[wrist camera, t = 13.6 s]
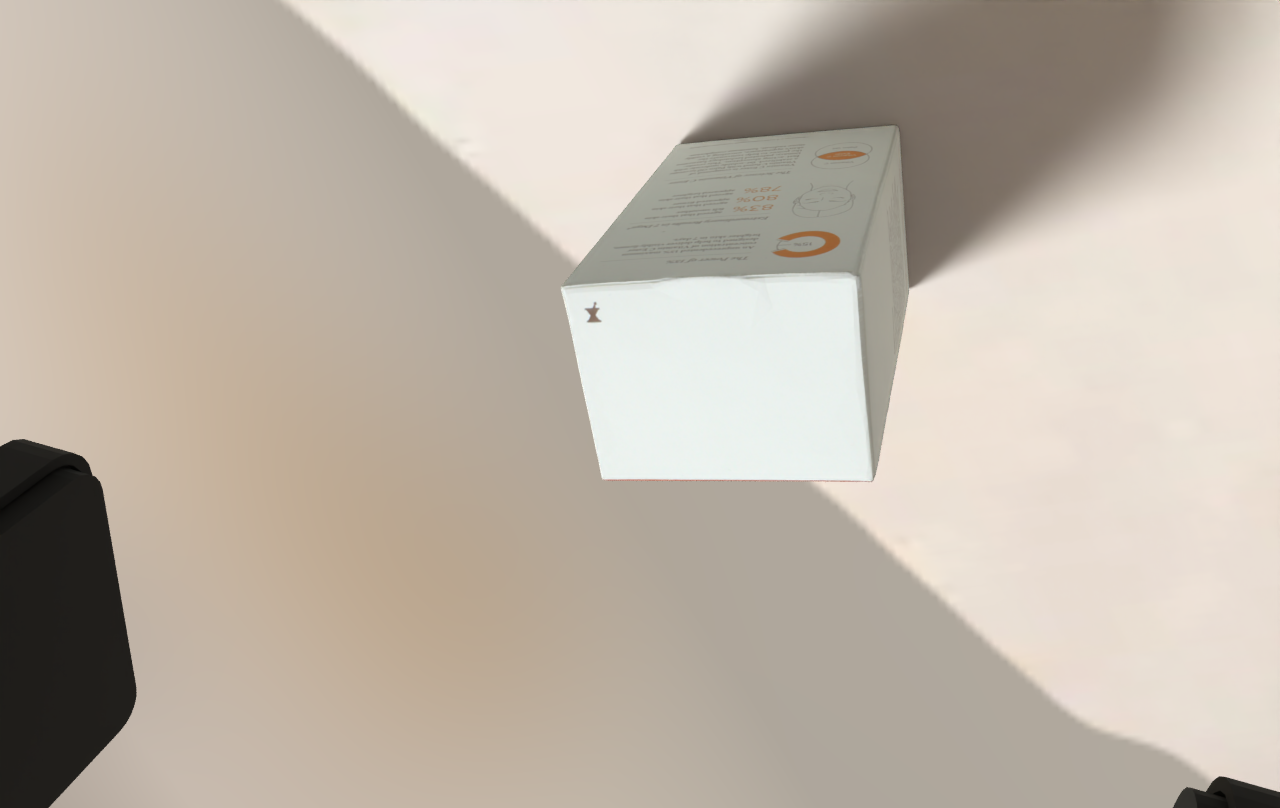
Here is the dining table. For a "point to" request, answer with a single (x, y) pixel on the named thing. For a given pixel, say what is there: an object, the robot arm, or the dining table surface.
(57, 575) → the robot arm
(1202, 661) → the dining table surface
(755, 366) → the small box
